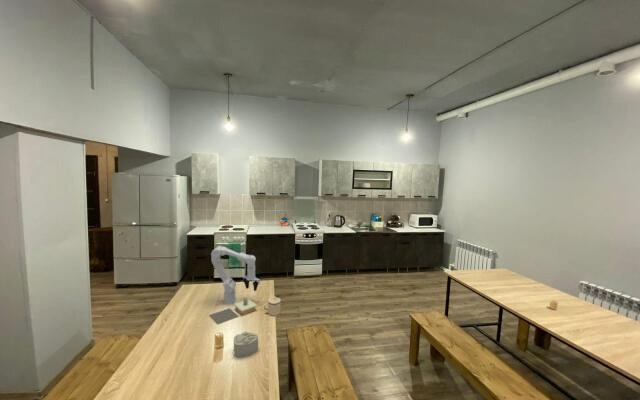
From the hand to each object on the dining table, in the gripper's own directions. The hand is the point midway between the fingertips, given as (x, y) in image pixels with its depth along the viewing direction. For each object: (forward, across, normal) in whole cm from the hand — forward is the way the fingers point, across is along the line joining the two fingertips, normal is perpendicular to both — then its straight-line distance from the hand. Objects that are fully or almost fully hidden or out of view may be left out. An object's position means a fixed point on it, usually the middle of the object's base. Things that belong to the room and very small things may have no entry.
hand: (251, 289), depth 205 cm
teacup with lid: (+11, +23, -4) cm, 26 cm away
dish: (+11, +4, -11) cm, 16 cm away
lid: (+7, +4, -11) cm, 14 cm away
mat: (+10, -3, -25) cm, 27 cm away
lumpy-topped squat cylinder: (+11, +35, -44) cm, 57 cm away
